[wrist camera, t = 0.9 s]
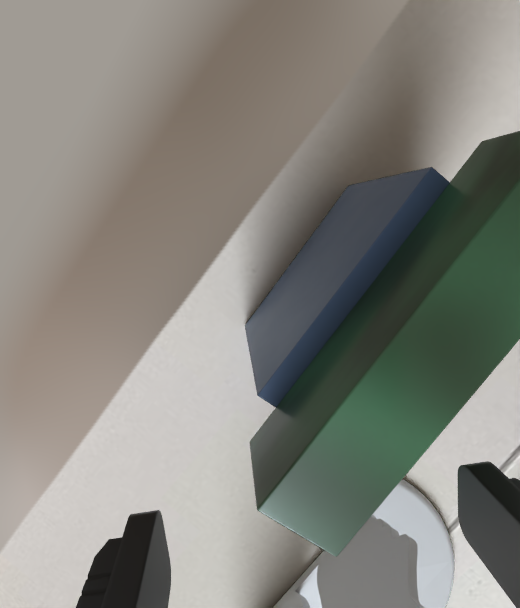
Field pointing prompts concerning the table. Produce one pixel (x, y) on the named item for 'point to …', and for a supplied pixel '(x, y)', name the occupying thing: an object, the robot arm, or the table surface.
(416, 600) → the ornament
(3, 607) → the table surface
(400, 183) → the riser block
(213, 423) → the table surface
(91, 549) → the table surface
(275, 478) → the green bar
